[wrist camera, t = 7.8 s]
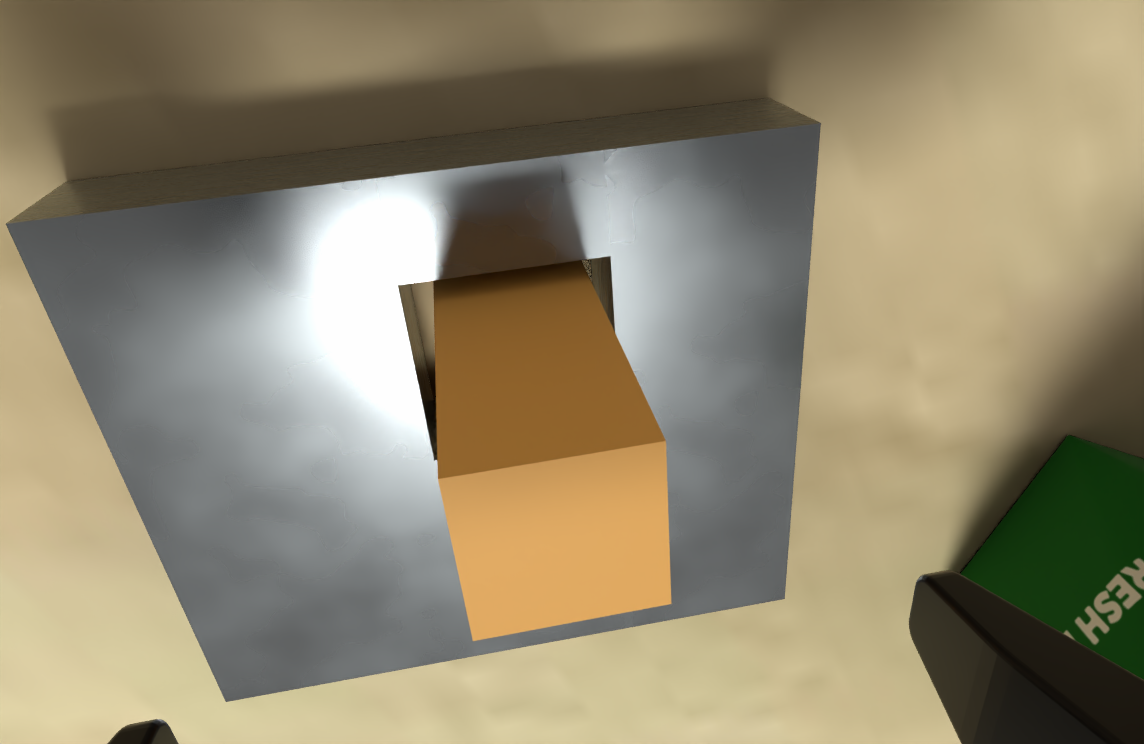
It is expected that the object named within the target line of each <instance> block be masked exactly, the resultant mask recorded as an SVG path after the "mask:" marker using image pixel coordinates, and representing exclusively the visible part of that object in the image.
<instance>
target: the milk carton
mask: <svg viewBox="0 0 1144 744" xmlns="http://www.w3.org/2000/svg"><path fill="white" fill-rule="evenodd" d="M961 575H963V576H964V577H966V578H968V579H970V580H971V581H973V582H975V583H977V584H978V585H980V586H982V587H983V588H985V589H987V590H989V591H990V592H992V593H994V594H996V595H997V596H999V597H1001V598H1003V599H1004V600H1006V601H1008V602H1010V603H1011V604H1013V605H1015V606H1016V607H1018V608H1020V609H1022V610H1023V611H1025V612H1027V613H1029V614H1030V615H1032V616H1034V617H1036V618H1037V619H1039V620H1041V621H1042V622H1044V623H1046V624H1048V625H1049V626H1051V627H1053V628H1055V629H1056V630H1058V631H1060V632H1062V633H1063V634H1065V635H1067V636H1069V637H1070V638H1072V639H1074V640H1075V641H1077V642H1079V643H1081V644H1082V645H1084V646H1086V647H1088V648H1089V649H1091V650H1093V651H1095V652H1096V653H1098V654H1100V655H1101V656H1103V657H1105V658H1107V659H1108V660H1110V661H1112V662H1114V663H1115V664H1117V665H1119V666H1121V667H1122V668H1124V669H1126V670H1128V671H1129V672H1131V673H1133V674H1134V675H1136V676H1138V677H1140V678H1141V679H1143V680H1144V459H1143V458H1140V457H1137V456H1133V455H1130V454H1127V453H1124V452H1121V451H1118V450H1115V449H1112V448H1108V447H1105V446H1102V445H1099V444H1096V443H1093V442H1090V441H1087V440H1083V439H1080V438H1077V437H1074V436H1071V435H1068V436H1067V437H1066V438H1065V440H1064V441H1063V442H1062V444H1061V445H1060V446H1059V448H1058V449H1057V450H1056V451H1055V453H1054V454H1053V455H1052V457H1051V458H1050V459H1049V460H1048V462H1047V463H1046V464H1045V466H1044V467H1043V468H1042V469H1041V471H1040V472H1039V473H1038V475H1037V476H1036V477H1035V478H1034V480H1033V481H1032V482H1031V484H1030V485H1029V486H1028V487H1027V489H1026V490H1025V491H1024V493H1023V494H1022V495H1021V496H1020V498H1019V499H1018V500H1017V502H1016V503H1015V504H1014V505H1013V507H1012V508H1011V509H1010V511H1009V512H1008V513H1007V515H1006V516H1005V517H1004V518H1003V520H1002V521H1001V522H1000V524H999V525H998V526H997V527H996V529H995V530H994V531H993V533H992V534H991V535H990V536H989V538H988V539H987V540H986V542H985V543H984V544H983V545H982V547H981V548H980V549H979V551H978V552H977V553H976V554H975V556H974V557H973V558H972V560H971V561H970V562H969V564H968V565H967V566H966V567H965V569H964V570H963V571H962V573H961Z"/></svg>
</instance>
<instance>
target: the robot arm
mask: <svg viewBox="0 0 1144 744" xmlns="http://www.w3.org/2000/svg"><path fill="white" fill-rule="evenodd" d="M909 629H910V634H911V637H912V640H913V642H914V644H915V647H916V649H917V651H918V653H919V655H920V657H921V659H922V661H923V664H924V666H925V668H926V670H927V672H928V674H929V676H930V678H931V680H932V683H933V685H934V687H935V689H936V691H937V693H938V695H939V697H940V699H941V702H942V704H943V706H944V708H945V710H946V712H947V714H948V716H949V718H950V721H951V723H952V725H953V727H954V729H955V731H956V733H957V735H958V738H959V740H960V742H961V743H962V744H1144V680H1143V679H1141V678H1140V677H1138V676H1136V675H1134V674H1133V673H1131V672H1129V671H1128V670H1126V669H1124V668H1122V667H1121V666H1119V665H1117V664H1115V663H1114V662H1112V661H1110V660H1108V659H1107V658H1105V657H1103V656H1101V655H1100V654H1098V653H1096V652H1095V651H1093V650H1091V649H1089V648H1088V647H1086V646H1084V645H1082V644H1081V643H1079V642H1077V641H1075V640H1074V639H1072V638H1070V637H1069V636H1067V635H1065V634H1063V633H1062V632H1060V631H1058V630H1056V629H1055V628H1053V627H1051V626H1049V625H1048V624H1046V623H1044V622H1042V621H1041V620H1039V619H1037V618H1036V617H1034V616H1032V615H1030V614H1029V613H1027V612H1025V611H1023V610H1022V609H1020V608H1018V607H1016V606H1015V605H1013V604H1011V603H1010V602H1008V601H1006V600H1004V599H1003V598H1001V597H999V596H997V595H996V594H994V593H992V592H990V591H989V590H987V589H985V588H983V587H982V586H980V585H978V584H977V583H975V582H973V581H971V580H970V579H968V578H966V577H964V576H963V575H961V574H959V573H957V572H954V571H950V570H946V571H940V572H935V573H929V574H924V575H922V576H920V577H919V579H918V580H917V582H916V586H915V591H914V596H913V602H912V607H911V612H910V618H909ZM108 744H178V742H177V740H176V738H175V736H174V734H173V733H172V731H171V729H170V727H169V725H168V724H167V723H166V722H165V721H163V720H161V719H155V720H150V721H145V722H139V723H134V724H130V725H127V726H125V727H123V728H122V729H121V730H119V731H118V732H117V733H116V734H115V736H114V737H113V738H112V739H111V740H110V741H109V742H108Z"/></svg>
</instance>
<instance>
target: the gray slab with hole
mask: <svg viewBox="0 0 1144 744" xmlns="http://www.w3.org/2000/svg"><path fill="white" fill-rule="evenodd" d="M820 125H821V123H819V122H817V121H815V120H813V119H811V118H809V117H807V116H805V115H803V114H801V113H799V112H797V111H795V110H793V109H791V108H789V107H787V106H785V105H783V104H781V103H779V102H777V101H775V100H773V99H771V98H762V99H754V100H746V101H737V102H729V103H721V104H712V105H704V106H695V107H687V108H679V109H670V110H662V111H654V112H645V113H637V114H628V115H620V116H612V117H603V118H595V119H587V120H578V121H570V122H561V123H553V124H545V125H536V126H528V127H519V128H511V129H503V130H494V131H486V132H478V133H469V134H461V135H452V136H444V137H436V138H427V139H419V140H411V141H402V142H394V143H385V144H377V145H369V146H360V147H352V148H344V149H335V150H327V151H318V152H310V153H302V154H293V155H285V156H277V157H268V158H260V159H251V160H243V161H235V162H226V163H218V164H210V165H201V166H193V167H184V168H176V169H168V170H159V171H151V172H143V173H134V174H126V175H117V176H109V177H101V178H92V179H84V180H75V181H67V182H65V183H63V184H62V185H60V186H59V187H58V188H56V189H55V190H53V191H52V192H50V193H49V194H48V195H46V196H45V197H43V198H42V199H40V200H39V201H38V202H36V203H35V204H33V205H32V206H30V207H29V208H28V209H26V210H25V211H23V212H22V213H20V214H19V215H18V216H16V217H15V218H13V219H12V220H10V221H9V222H8V223H6V225H7V228H8V230H9V232H10V234H11V236H12V238H13V241H14V243H15V245H16V247H17V249H18V251H19V254H20V256H21V258H22V260H23V262H24V264H25V267H26V269H27V271H28V273H29V275H30V277H31V280H32V282H33V284H34V286H35V288H36V291H37V293H38V295H39V297H40V299H41V301H42V304H43V306H44V308H45V310H46V312H47V314H48V317H49V319H50V321H51V323H52V325H53V327H54V330H55V332H56V334H57V336H58V338H59V340H60V343H61V345H62V347H63V349H64V351H65V353H66V356H67V358H68V360H69V362H70V364H71V367H72V369H73V371H74V373H75V375H76V377H77V380H78V382H79V384H80V386H81V388H82V390H83V393H84V395H85V397H86V399H87V401H88V403H89V406H90V408H91V410H92V412H93V414H94V416H95V419H96V421H97V423H98V425H99V427H100V429H101V432H102V434H103V436H104V438H105V440H106V443H107V445H108V447H109V449H110V451H111V453H112V456H113V458H114V460H115V462H116V464H117V466H118V469H119V471H120V473H121V475H122V477H123V479H124V482H125V484H126V486H127V488H128V490H129V492H130V495H131V497H132V499H133V501H134V503H135V505H136V508H137V510H138V512H139V514H140V516H141V519H142V521H143V523H144V525H145V527H146V529H147V532H148V534H149V536H150V538H151V540H152V542H153V545H154V547H155V549H156V551H157V553H158V555H159V558H160V560H161V562H162V564H163V566H164V568H165V571H166V573H167V575H168V577H169V579H170V581H171V584H172V586H173V588H174V590H175V592H176V595H177V597H178V599H179V601H180V603H181V605H182V608H183V610H184V612H185V614H186V616H187V618H188V621H189V623H190V625H191V627H192V629H193V631H194V634H195V636H196V638H197V640H198V642H199V644H200V647H201V649H202V651H203V653H204V655H205V657H206V660H207V662H208V664H209V666H210V668H211V671H212V673H213V675H214V677H215V679H216V681H217V684H218V686H219V688H220V690H221V692H222V694H223V697H224V699H225V701H226V702H228V701H234V700H239V699H244V698H250V697H255V696H261V695H266V694H271V693H277V692H282V691H288V690H293V689H299V688H304V687H309V686H315V685H320V684H326V683H331V682H336V681H342V680H347V679H353V678H358V677H364V676H369V675H374V674H380V673H385V672H391V671H396V670H402V669H407V668H412V667H418V666H423V665H429V664H434V663H439V662H445V661H450V660H456V659H461V658H467V657H472V656H477V655H483V654H488V653H494V652H499V651H504V650H510V649H515V648H521V647H526V646H532V645H537V644H542V643H548V642H553V641H559V640H564V639H570V638H575V637H580V636H586V635H591V634H597V633H602V632H607V631H613V630H618V629H624V628H629V627H635V626H640V625H645V624H651V623H656V622H662V621H667V620H672V619H678V618H683V617H689V616H694V615H700V614H705V613H710V612H716V611H721V610H727V609H732V608H738V607H743V606H748V605H754V604H759V603H765V602H770V601H775V600H781V599H785V586H786V573H787V560H788V546H789V533H790V520H791V507H792V494H793V481H794V467H795V454H796V441H797V428H798V415H799V402H800V388H801V375H802V362H803V349H804V336H805V323H806V309H807V296H808V283H809V270H810V257H811V244H812V230H813V217H814V204H815V191H816V178H817V165H818V151H819V138H820ZM586 259H591V271H592V284H593V287H594V289H595V291H596V293H597V295H598V297H599V299H600V302H601V304H602V306H603V308H604V310H605V312H606V314H607V316H608V319H609V321H610V323H611V325H612V327H613V329H614V331H615V334H616V336H617V338H618V340H619V342H620V344H621V346H622V348H623V351H624V353H625V355H626V357H627V359H628V361H629V363H630V365H631V368H632V370H633V372H634V374H635V376H636V378H637V380H638V382H639V385H640V387H641V389H642V391H643V393H644V395H645V397H646V400H647V402H648V404H649V406H650V408H651V410H652V412H653V414H654V417H655V419H656V421H657V423H658V425H659V427H660V429H661V431H662V434H663V436H664V438H665V440H666V457H667V487H668V517H669V548H670V578H671V604H668V605H663V606H658V607H652V608H647V609H642V610H636V611H631V612H626V613H620V614H615V615H610V616H605V617H599V618H594V619H589V620H583V621H578V622H573V623H567V624H562V625H557V626H551V627H546V628H541V629H535V630H530V631H525V632H520V633H514V634H509V635H504V636H498V637H493V638H488V639H482V640H477V641H473V639H472V634H471V630H470V625H469V621H468V616H467V611H466V607H465V602H464V597H463V593H462V588H461V584H460V579H459V574H458V570H457V565H456V561H455V556H454V551H453V547H452V542H451V538H450V533H449V528H448V524H447V519H446V515H445V510H444V505H443V501H442V496H441V491H440V487H439V482H438V463H437V418H436V399H433V395H432V390H431V385H430V380H429V375H428V370H427V365H426V360H425V355H424V350H423V345H422V340H421V335H420V330H419V325H418V320H417V315H416V310H415V305H414V300H413V295H412V290H411V285H410V284H411V283H418V282H426V281H433V280H440V279H447V278H455V277H462V276H469V275H477V274H484V273H491V272H498V271H506V270H513V269H520V268H528V267H535V266H542V265H550V264H557V263H564V262H571V261H579V260H586Z"/></svg>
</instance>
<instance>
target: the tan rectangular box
mask: <svg viewBox="0 0 1144 744" xmlns="http://www.w3.org/2000/svg"><path fill="white" fill-rule="evenodd" d="M433 281H434V327H435V372H436V418H437V463H438V482H439V487H440V491H441V496H442V501H443V505H444V510H445V515H446V519H447V524H448V528H449V533H450V538H451V542H452V547H453V551H454V556H455V561H456V565H457V570H458V574H459V579H460V584H461V588H462V593H463V597H464V602H465V607H466V611H467V616H468V621H469V625H470V630H471V634H472V639H473V641H477V640H482V639H488V638H493V637H498V636H504V635H509V634H514V633H520V632H525V631H530V630H535V629H541V628H546V627H551V626H557V625H562V624H567V623H573V622H578V621H583V620H589V619H594V618H599V617H605V616H610V615H615V614H620V613H626V612H631V611H636V610H642V609H647V608H652V607H658V606H663V605H668V604H671V578H670V548H669V517H668V487H667V457H666V440H665V438H664V436H663V434H662V431H661V429H660V427H659V425H658V423H657V421H656V419H655V417H654V414H653V412H652V410H651V408H650V406H649V404H648V402H647V400H646V397H645V395H644V393H643V391H642V389H641V387H640V385H639V382H638V380H637V378H636V376H635V374H634V372H633V370H632V368H631V365H630V363H629V361H628V359H627V357H626V355H625V353H624V351H623V348H622V346H621V344H620V342H619V340H618V338H617V336H616V334H615V331H614V329H613V327H612V325H611V323H610V321H609V319H608V316H607V314H606V312H605V310H604V308H603V306H602V304H601V302H600V299H599V297H598V295H597V293H596V291H595V289H594V287H593V285H592V282H591V280H590V278H589V276H588V274H587V272H586V270H585V267H584V265H583V263H582V261H581V260H579V261H571V262H564V263H557V264H550V265H542V266H535V267H528V268H520V269H513V270H506V271H498V272H491V273H484V274H477V275H469V276H462V277H455V278H447V279H440V280H433Z"/></svg>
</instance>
